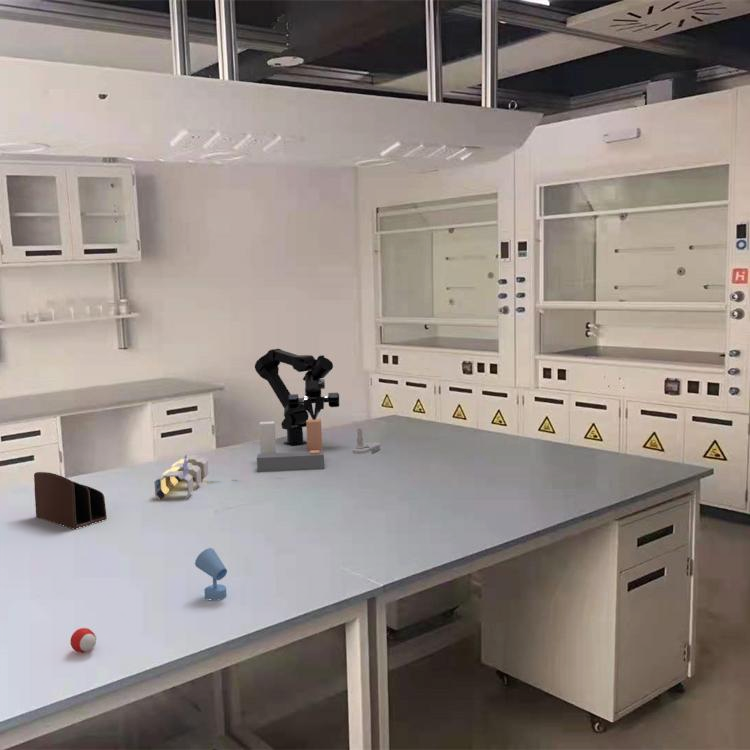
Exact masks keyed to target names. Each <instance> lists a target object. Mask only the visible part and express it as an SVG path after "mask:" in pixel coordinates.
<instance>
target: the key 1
mask: <svg viewBox="0 0 750 750" xmlns="http://www.w3.org/2000/svg"><path fill="white" fill-rule="evenodd" d="M275 423H276V422H275V421H273V420H272V421H260V422H259V423H258V428H259V441H260V442H259V446H260V448H259V449H260V450H259V451H260V454H265V453H277V442H276V424H275Z"/></svg>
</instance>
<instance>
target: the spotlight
mask: <svg viewBox="0 0 750 750" xmlns="http://www.w3.org/2000/svg"><path fill="white" fill-rule="evenodd" d="M194 565H195V567H196V568H198V570H200V571H202V572H204V573H205V574H207V575H208V576H210V577H211V578H212V584H211V585H209V586H206V587H204V589H203V590H204V592H203V593H204V599H205V598H206V599H205V600H207V599H211V600H215V601H219V600H218V599H220V600H223V599H225V598H226V597H227V586H225V585H224V584H218V582H217V581H221V580H222V579H223V578H225V577H226V575H228V569H227V568H226V566H225V565H224V563H223V562H222V560H221V558H220V557H219V556H218V554H217V552H216V550H215V549H214V548H212V547H209V548H206V549H204V550H203V551H202V552H200V553H199V554H198V555H197V556H196V559H195V562H194ZM224 597H225V598H224ZM222 598H223V599H222ZM211 600H210V601H211Z"/></svg>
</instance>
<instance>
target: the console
mask: <svg viewBox="0 0 750 750" xmlns="http://www.w3.org/2000/svg"><path fill="white" fill-rule="evenodd" d="M256 456H257V457H256V467H257V469H256V470H257V473H266V472H267V473H269V472H287V471H289V472H290V471H305V470H307V471H309V470H310V471H311V470H323V469H324V470H325V452H324V450H322V451H319V450H313V451H308V450H307V451H290V452H288V451H287V452H276V453H265V454H261V453H258V454H257V455H256Z"/></svg>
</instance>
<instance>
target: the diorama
mask: <svg viewBox="0 0 750 750" xmlns="http://www.w3.org/2000/svg"><path fill="white" fill-rule="evenodd" d="M208 474H209V460H208V459H207V458H205V457H201V456H200V455H198V454H195V455H192V454H191V455H187V454H184V457H181V458H179V459H178V460H177V461H175V462H174V463H173V464H172V465H171V466H170V467H169V468H168V469H167V470H165V471H164V472H163V473H162V474H161V475H160V476H159V477H157V479H156V480H155V481H154V483H153V484H154V495H155V496H156V497H157V499H158V500H159V501H161V500H162V499H163V498H164V497H165V496H166V495H167V494H168V493H169V492H170V491H171V490H172V489H173V488H174V487H175V486H176V484H178V483H179V482H180V481H181V480H185V482H186V483H187V486H186V487H187V494H186V496H185V497H184V500H187V499H189V497H190V496H191V494H192V493H193V491H195V490H197V488H198V487H199V484H200V483H202V482H203V480H204V479H205V478H206V476H208ZM202 477H203V478H202ZM194 479H195V485H194ZM169 490H170V491H169ZM165 494H166V495H165Z"/></svg>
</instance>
